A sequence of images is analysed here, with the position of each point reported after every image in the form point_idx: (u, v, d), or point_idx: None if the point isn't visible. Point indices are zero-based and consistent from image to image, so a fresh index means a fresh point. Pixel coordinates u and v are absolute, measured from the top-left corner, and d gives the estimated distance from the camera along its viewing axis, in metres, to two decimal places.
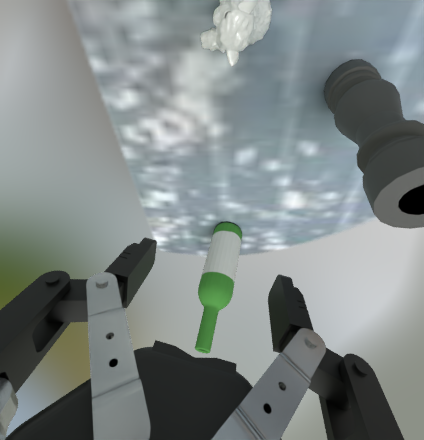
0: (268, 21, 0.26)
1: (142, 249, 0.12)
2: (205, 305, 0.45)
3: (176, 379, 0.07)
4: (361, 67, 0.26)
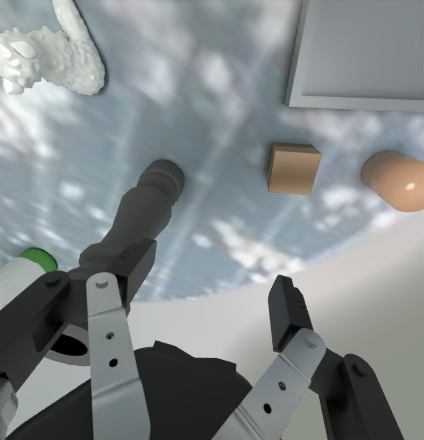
0: (93, 84, 0.26)
1: (142, 249, 0.12)
2: None
3: (176, 379, 0.07)
4: (165, 171, 0.29)
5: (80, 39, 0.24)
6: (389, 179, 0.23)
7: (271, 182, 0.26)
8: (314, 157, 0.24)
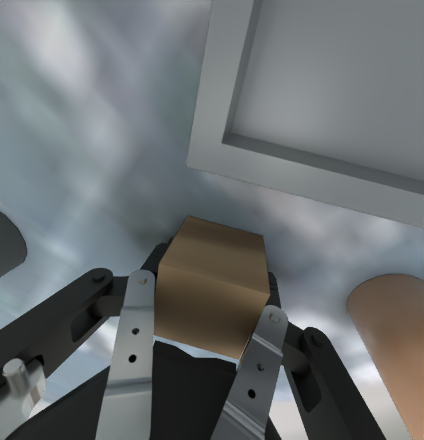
0: None
1: None
2: None
3: (176, 379, 0.07)
4: None
5: None
6: (423, 391, 0.09)
7: (154, 319, 0.11)
8: (252, 296, 0.09)
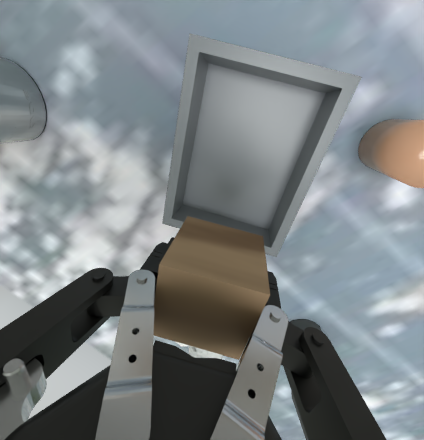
0: None
1: None
2: None
3: (176, 379, 0.07)
4: None
5: None
6: (399, 180, 0.18)
7: (154, 320, 0.11)
8: (252, 297, 0.09)
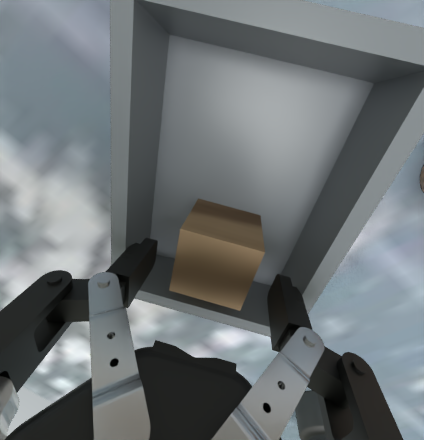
0: None
1: (143, 249, 0.12)
2: None
3: (176, 379, 0.07)
4: (309, 428, 0.24)
5: None
6: None
7: (173, 277, 0.14)
8: (251, 254, 0.12)
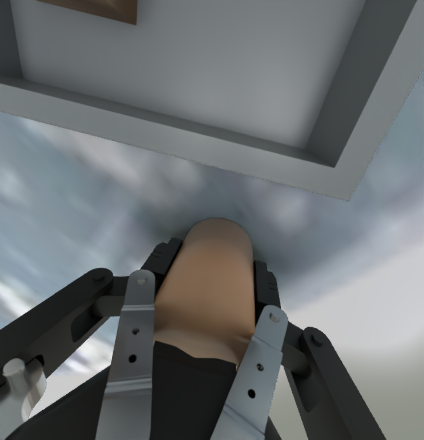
0: None
1: (172, 248, 0.13)
2: None
3: (176, 379, 0.07)
4: None
5: None
6: None
7: None
8: None
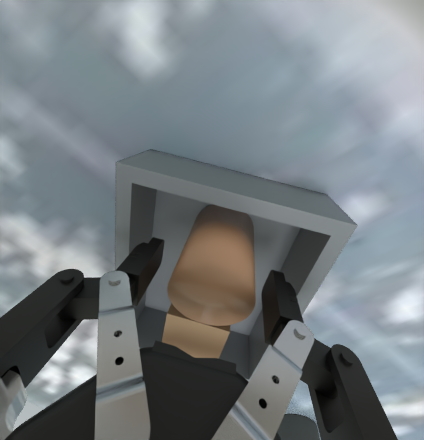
0: None
1: (151, 248, 0.12)
2: None
3: (176, 379, 0.07)
4: None
5: None
6: (176, 265, 0.12)
7: (163, 342, 0.18)
8: (220, 332, 0.16)
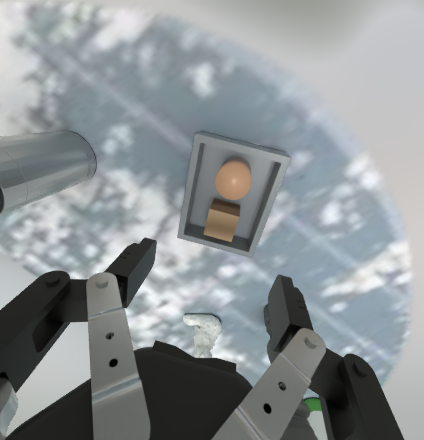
0: (217, 327, 0.51)
1: (142, 249, 0.12)
2: None
3: (176, 379, 0.07)
4: (269, 317, 0.46)
5: (199, 322, 0.52)
6: (219, 170, 0.31)
7: (205, 228, 0.36)
8: (234, 217, 0.35)
